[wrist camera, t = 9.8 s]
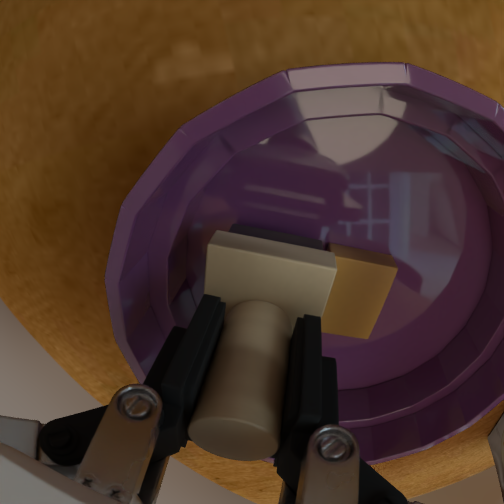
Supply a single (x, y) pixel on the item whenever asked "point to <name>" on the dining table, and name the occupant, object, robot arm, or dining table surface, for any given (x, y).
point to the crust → (357, 291)
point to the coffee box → (498, 450)
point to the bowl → (341, 233)
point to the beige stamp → (256, 335)
